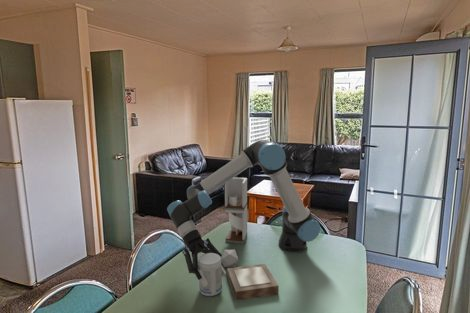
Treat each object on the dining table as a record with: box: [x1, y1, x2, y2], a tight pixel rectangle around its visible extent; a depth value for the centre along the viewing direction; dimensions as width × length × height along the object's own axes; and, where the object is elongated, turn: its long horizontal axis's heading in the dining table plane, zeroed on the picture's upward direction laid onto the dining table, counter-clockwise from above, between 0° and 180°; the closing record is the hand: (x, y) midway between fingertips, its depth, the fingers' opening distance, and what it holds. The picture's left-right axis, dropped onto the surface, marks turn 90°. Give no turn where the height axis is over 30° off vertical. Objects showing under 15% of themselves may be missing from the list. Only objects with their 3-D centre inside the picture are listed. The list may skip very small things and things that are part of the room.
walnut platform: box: [226, 263, 279, 301], centre depth 135 cm, size 18×18×4 cm
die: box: [221, 249, 239, 268], centre depth 150 cm, size 8×9×10 cm
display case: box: [224, 177, 248, 244], centre depth 178 cm, size 11×11×35 cm
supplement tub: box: [198, 253, 223, 297], centre depth 130 cm, size 10×10×15 cm
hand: (215, 280), depth 128 cm, fingers closed on supplement tub, 10 cm apart
